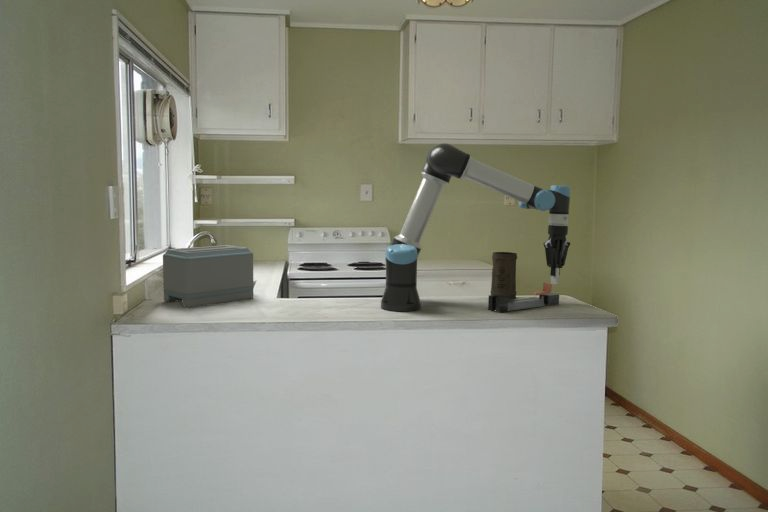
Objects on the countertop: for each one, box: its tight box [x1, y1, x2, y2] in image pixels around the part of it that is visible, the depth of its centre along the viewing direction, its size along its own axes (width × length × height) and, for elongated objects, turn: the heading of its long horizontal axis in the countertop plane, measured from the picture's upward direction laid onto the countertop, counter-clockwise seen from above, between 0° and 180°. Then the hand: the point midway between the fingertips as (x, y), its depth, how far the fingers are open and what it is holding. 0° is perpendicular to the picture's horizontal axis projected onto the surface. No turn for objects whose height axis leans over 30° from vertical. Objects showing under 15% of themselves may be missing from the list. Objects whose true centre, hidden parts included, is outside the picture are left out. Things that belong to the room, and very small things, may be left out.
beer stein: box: [490, 251, 518, 300], centre depth 257 cm, size 15×11×20 cm
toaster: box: [162, 244, 254, 309], centre depth 249 cm, size 19×33×20 cm, turn 137°
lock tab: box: [530, 282, 553, 296], centre depth 246 cm, size 8×3×4 cm, turn 122°
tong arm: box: [495, 296, 545, 313], centre depth 238 cm, size 23×2×5 cm, turn 124°
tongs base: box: [487, 292, 560, 312], centre depth 243 cm, size 32×5×6 cm, turn 122°
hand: (554, 284), depth 251 cm, fingers closed
